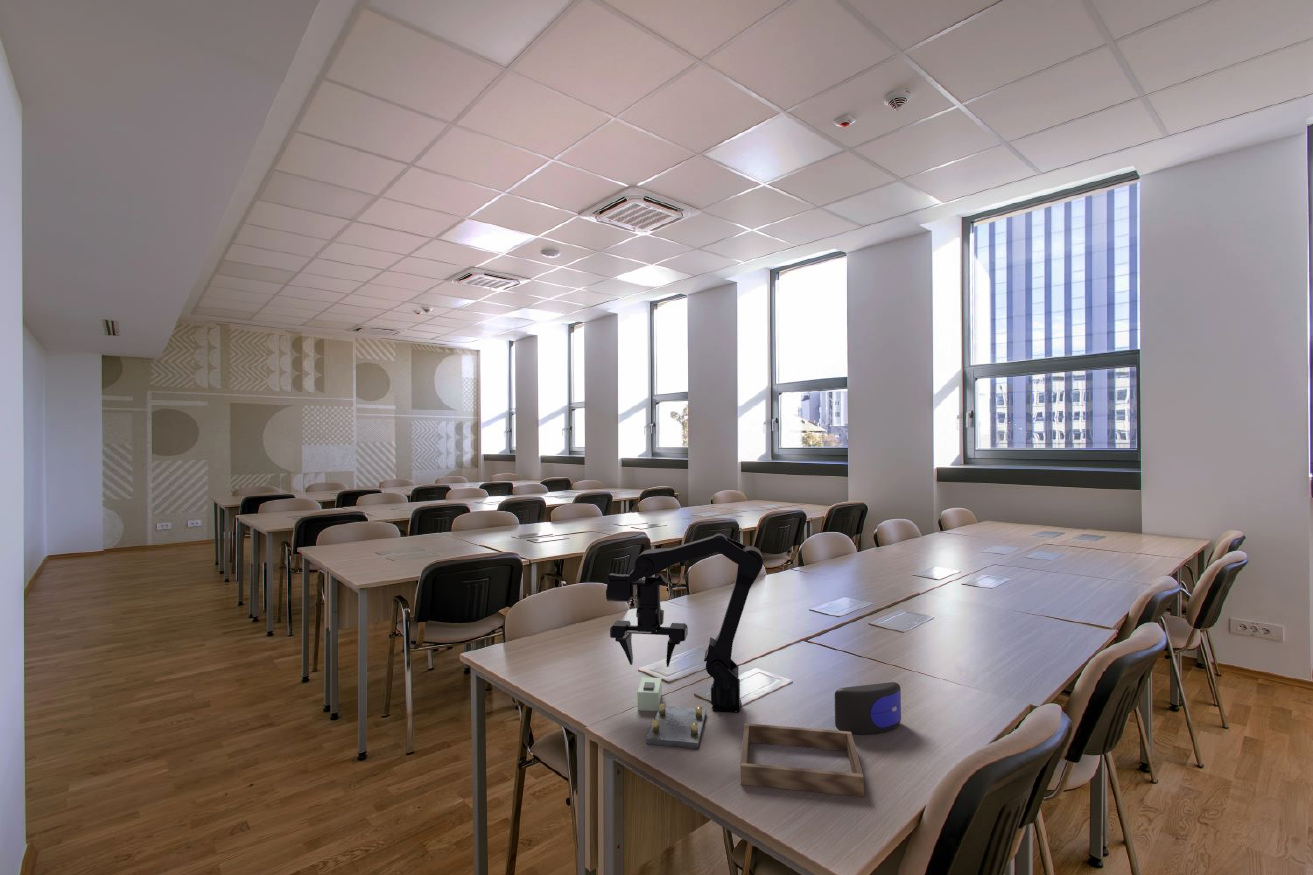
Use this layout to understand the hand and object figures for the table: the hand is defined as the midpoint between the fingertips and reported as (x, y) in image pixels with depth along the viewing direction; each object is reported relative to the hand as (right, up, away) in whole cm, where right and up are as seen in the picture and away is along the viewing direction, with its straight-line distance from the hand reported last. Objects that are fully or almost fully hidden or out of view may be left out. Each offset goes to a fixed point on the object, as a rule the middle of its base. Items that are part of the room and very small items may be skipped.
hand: (649, 665), depth 146 cm
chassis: (+6, -9, -14) cm, 17 cm away
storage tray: (+30, -8, -29) cm, 43 cm away
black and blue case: (+49, -9, -14) cm, 52 cm away
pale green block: (0, -9, 0) cm, 9 cm away
